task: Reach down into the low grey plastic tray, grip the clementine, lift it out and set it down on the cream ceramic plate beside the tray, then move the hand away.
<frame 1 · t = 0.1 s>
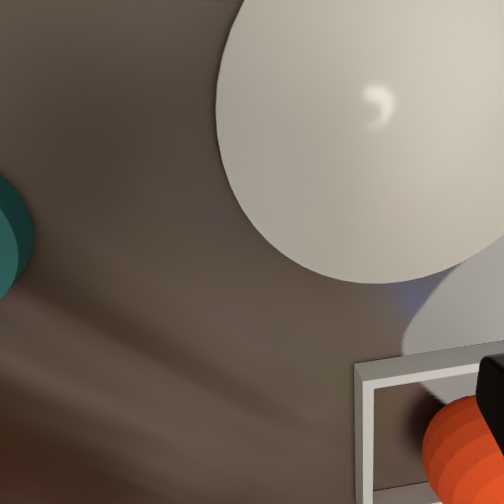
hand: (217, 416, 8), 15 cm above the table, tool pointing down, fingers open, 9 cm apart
cream plate: (397, 111, 21), on the table
grey bin: (451, 421, 29), on the table
clementine: (449, 418, 29), resting in grey bin
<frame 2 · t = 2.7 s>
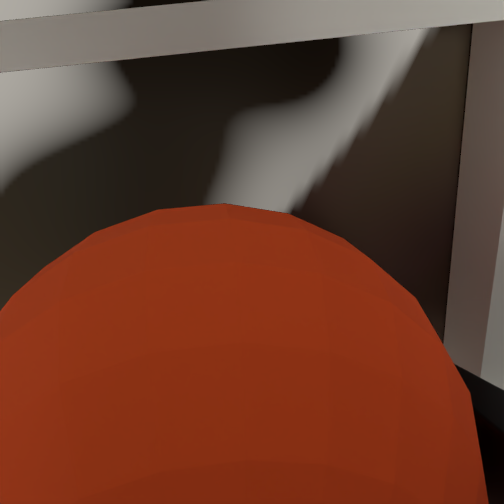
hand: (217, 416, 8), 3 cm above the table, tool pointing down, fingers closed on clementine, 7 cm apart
grey bin: (220, 330, 10), on the table
clementine: (230, 323, 10), resting in grey bin, touching gripper
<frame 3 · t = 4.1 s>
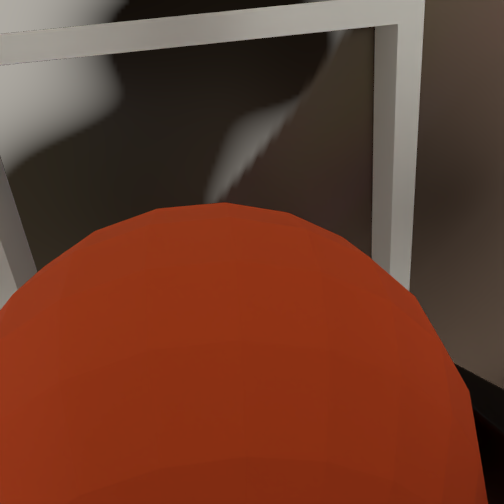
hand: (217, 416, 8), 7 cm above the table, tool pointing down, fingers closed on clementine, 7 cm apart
grey bin: (208, 247, 14), on the table
clementine: (230, 322, 10), point 4 cm above the table, touching gripper
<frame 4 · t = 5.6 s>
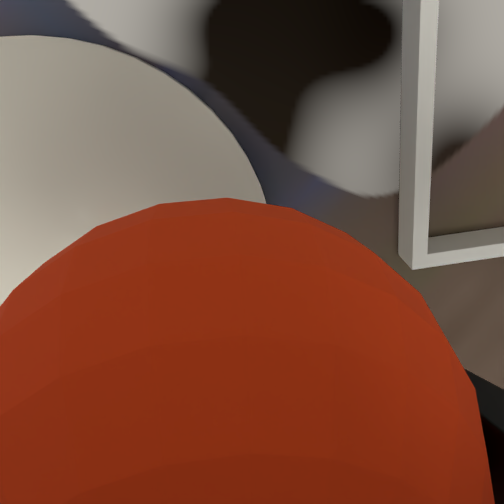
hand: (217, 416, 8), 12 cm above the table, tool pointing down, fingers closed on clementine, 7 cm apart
cream plate: (73, 254, 19), on the table
clementine: (231, 320, 10), point 9 cm above the table, touching gripper
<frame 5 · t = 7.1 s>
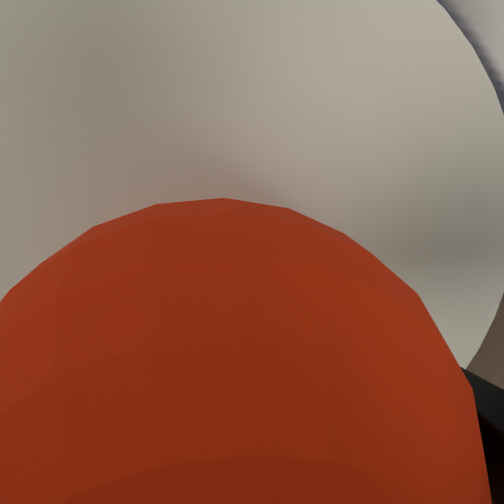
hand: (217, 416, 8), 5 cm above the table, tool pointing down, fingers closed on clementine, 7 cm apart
cream plate: (202, 272, 12), on the table
clementine: (230, 320, 10), point 3 cm above the table, touching gripper
when the fingers open (5 cm above the table, at t = 8.1 s): clementine drops 1 cm, resting on cream plate.
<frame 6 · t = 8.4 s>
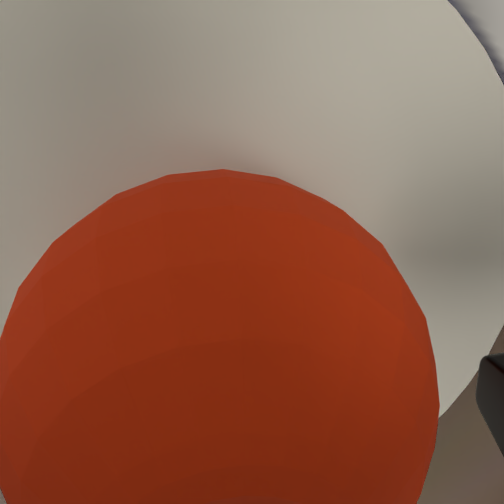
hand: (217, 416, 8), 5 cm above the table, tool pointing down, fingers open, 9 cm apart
cream plate: (206, 277, 12), on the table
clementine: (229, 287, 11), point 1 cm above the table, touching cream plate
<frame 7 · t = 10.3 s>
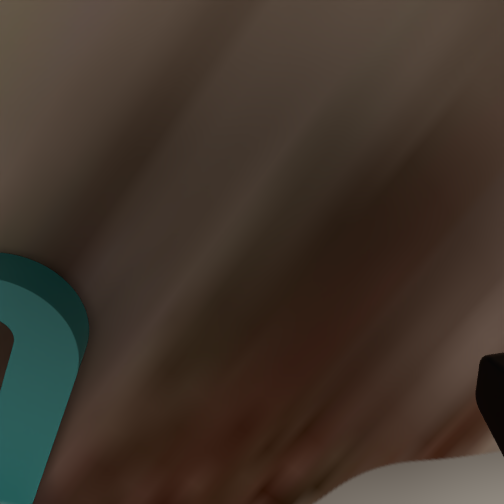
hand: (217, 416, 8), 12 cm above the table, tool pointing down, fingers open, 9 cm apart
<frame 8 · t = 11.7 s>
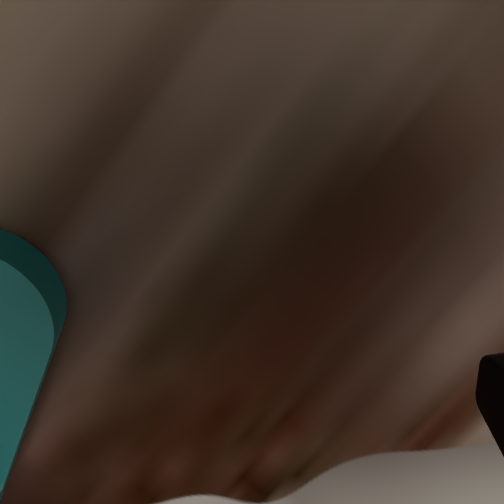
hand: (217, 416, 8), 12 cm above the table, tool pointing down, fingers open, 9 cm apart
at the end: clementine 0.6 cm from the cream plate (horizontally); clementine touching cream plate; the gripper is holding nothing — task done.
